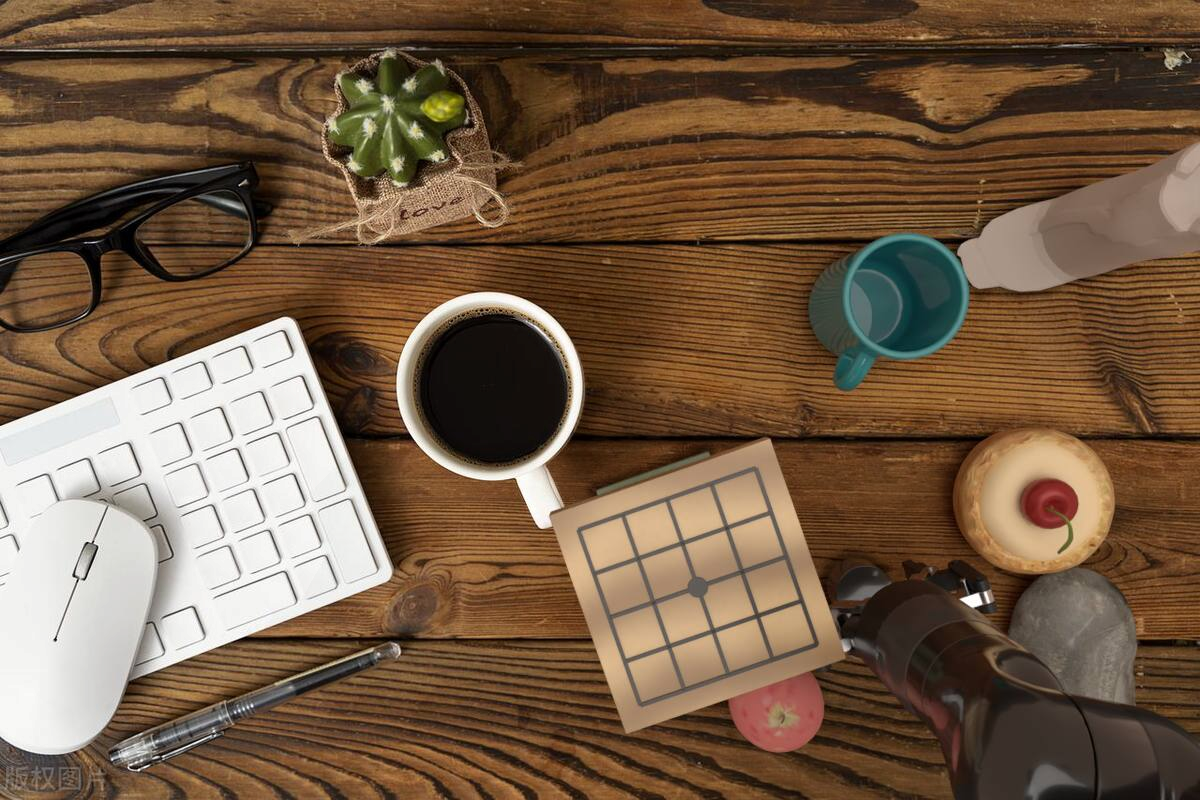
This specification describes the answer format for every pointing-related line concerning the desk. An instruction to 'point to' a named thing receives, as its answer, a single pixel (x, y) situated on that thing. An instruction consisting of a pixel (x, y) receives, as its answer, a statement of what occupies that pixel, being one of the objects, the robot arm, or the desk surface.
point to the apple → (780, 713)
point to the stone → (1080, 632)
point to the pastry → (1033, 500)
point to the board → (696, 583)
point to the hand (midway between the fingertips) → (859, 588)
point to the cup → (888, 304)
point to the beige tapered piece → (1092, 229)
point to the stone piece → (855, 580)
